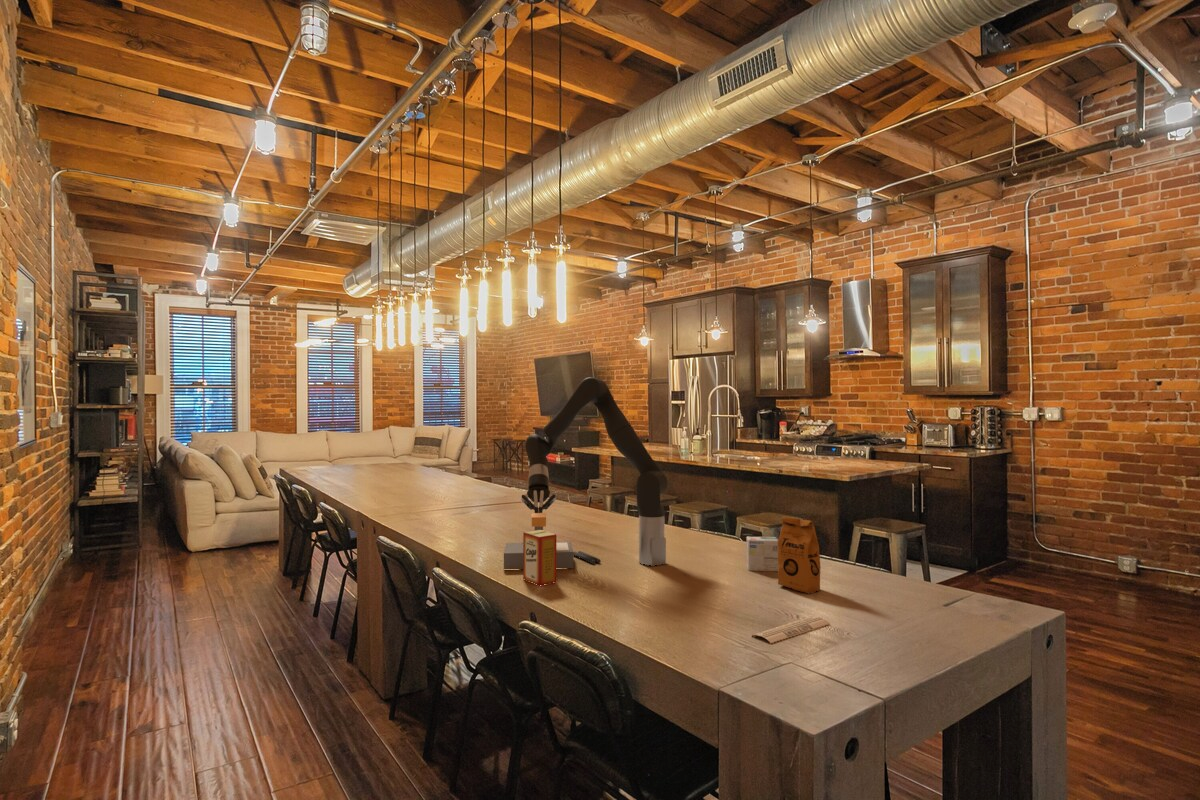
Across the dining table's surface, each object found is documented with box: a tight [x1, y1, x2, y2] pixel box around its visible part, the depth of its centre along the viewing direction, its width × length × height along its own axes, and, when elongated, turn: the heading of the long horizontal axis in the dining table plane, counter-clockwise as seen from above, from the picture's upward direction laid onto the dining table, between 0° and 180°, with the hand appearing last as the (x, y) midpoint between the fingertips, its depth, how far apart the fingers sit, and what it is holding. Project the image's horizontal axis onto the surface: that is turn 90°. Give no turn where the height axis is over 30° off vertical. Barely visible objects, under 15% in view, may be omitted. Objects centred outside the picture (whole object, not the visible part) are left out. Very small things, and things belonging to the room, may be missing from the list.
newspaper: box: [751, 615, 830, 645], centre depth 164 cm, size 24×7×2 cm, turn 125°
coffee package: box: [777, 516, 821, 595], centre depth 201 cm, size 10×12×22 cm
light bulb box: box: [745, 536, 779, 572], centre depth 224 cm, size 11×7×11 cm, turn 84°
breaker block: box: [503, 541, 574, 570], centre depth 230 cm, size 16×24×9 cm, turn 95°
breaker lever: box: [531, 512, 547, 531], centre depth 227 cm, size 2×5×13 cm, turn 95°
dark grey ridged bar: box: [573, 550, 602, 565], centre depth 237 cm, size 16×4×2 cm, turn 31°
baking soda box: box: [522, 529, 557, 587], centre depth 208 cm, size 10×6×16 cm
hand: (538, 517), depth 228 cm, fingers closed
